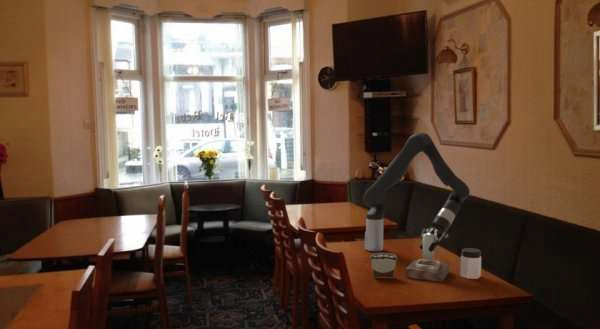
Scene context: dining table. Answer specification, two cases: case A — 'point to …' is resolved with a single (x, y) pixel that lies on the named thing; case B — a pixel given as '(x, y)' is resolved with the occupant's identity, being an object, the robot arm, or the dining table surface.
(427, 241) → the sage cylinder
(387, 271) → the food container
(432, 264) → the display plinth
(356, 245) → the dining table surface
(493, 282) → the dining table surface
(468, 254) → the jar
